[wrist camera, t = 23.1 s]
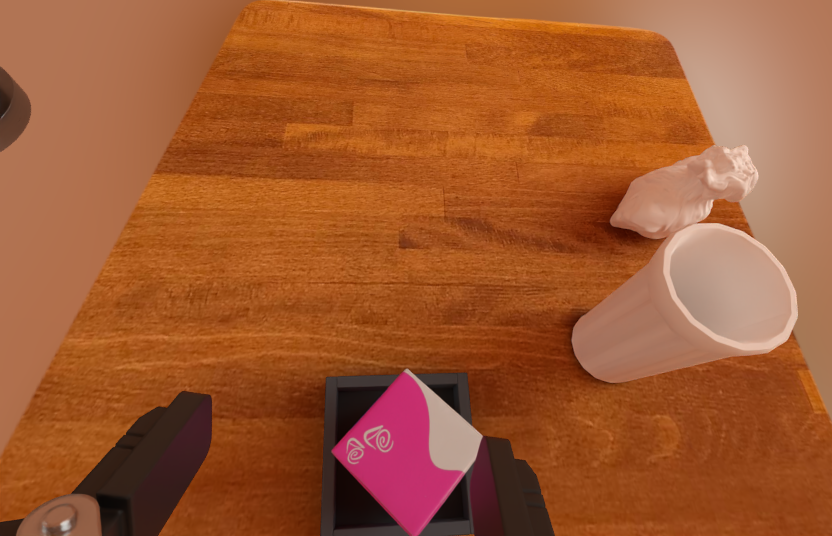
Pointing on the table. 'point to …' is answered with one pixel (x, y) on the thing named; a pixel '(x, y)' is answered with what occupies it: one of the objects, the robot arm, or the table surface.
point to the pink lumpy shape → (685, 191)
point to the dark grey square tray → (341, 492)
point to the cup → (689, 307)
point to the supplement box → (409, 451)
